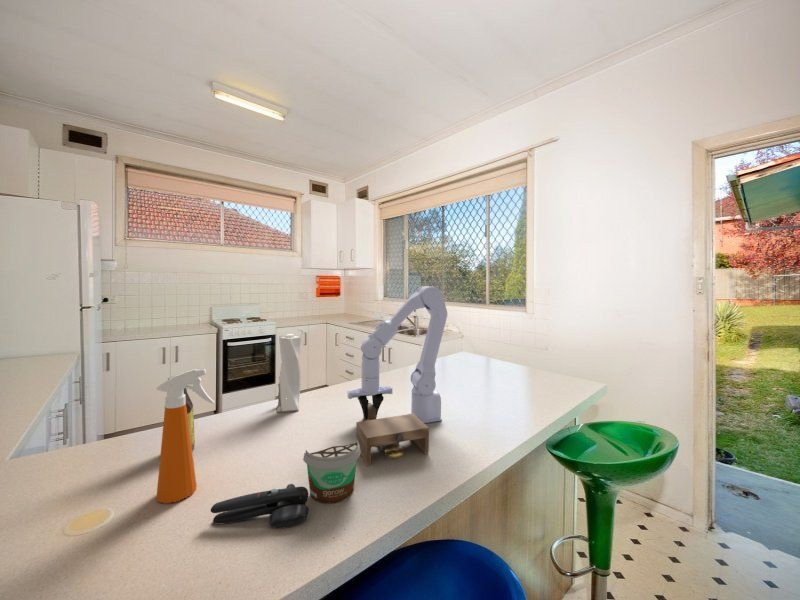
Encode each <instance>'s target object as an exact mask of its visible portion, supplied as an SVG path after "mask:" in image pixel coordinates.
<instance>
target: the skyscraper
mask: <svg viewBox="0 0 800 600" xmlns="http://www.w3.org/2000/svg"><path fill="white" fill-rule="evenodd" d="M295 332H301V333H300V336H298V335H297V336H295V335H296V334H294V333H295ZM302 336H303V330H302V329H293V331H291V332H290V333H288V334H285V335H279V336H278V337H279V338H278V341H279V342H278V343H279V351H280V352H279V353H280V360H281V364H280V372H279V376H278V377H279V378H278V379H279V380H278V381H279V382H278V384H277V387H278V392H277V393H278V394H277V401H278V402H277V409H276V413H277V414H282V413H283V414H284V413H293V412H299V403H300V394H301V381H302V380H301V378H302V377H301V367H300V362H299V358H300V351H301V342H302ZM286 398H287V399H286Z"/></svg>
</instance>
